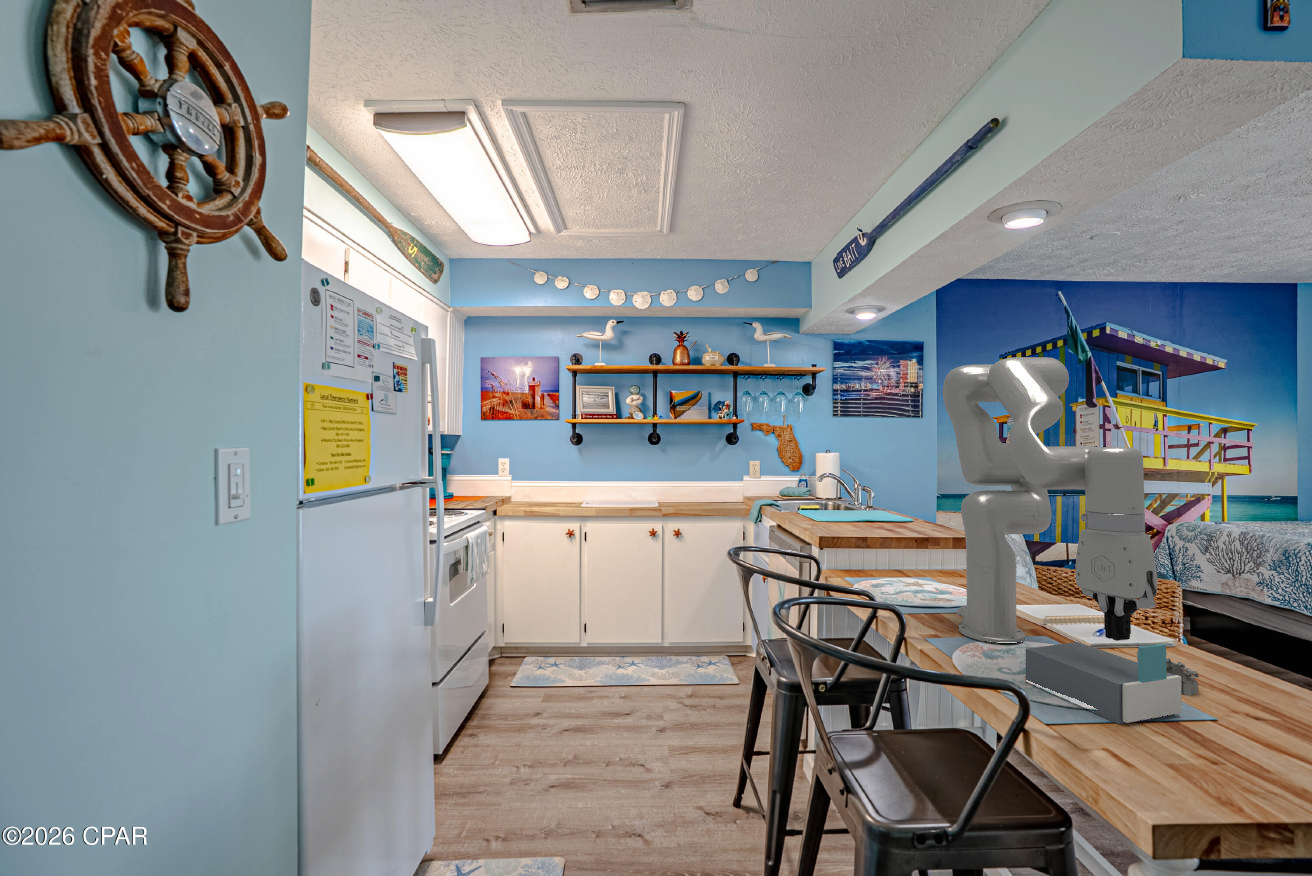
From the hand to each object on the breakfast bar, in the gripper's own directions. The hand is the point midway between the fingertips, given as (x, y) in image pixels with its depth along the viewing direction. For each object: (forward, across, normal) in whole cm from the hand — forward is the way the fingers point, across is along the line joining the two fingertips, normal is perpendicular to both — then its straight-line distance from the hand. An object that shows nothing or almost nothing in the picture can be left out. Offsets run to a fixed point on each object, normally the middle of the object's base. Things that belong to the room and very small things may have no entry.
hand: (1117, 638), depth 95 cm
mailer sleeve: (+11, -4, 0) cm, 12 cm away
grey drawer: (+11, -4, 0) cm, 12 cm away
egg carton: (+11, -5, +18) cm, 22 cm away
